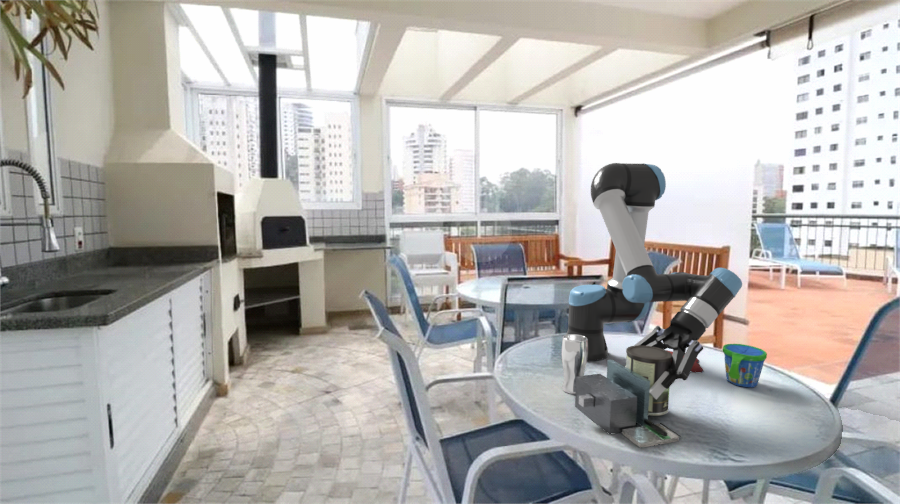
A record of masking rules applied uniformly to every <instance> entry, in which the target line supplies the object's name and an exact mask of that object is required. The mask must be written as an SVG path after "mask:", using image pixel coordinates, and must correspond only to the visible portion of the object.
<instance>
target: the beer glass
mask: <svg viewBox="0 0 900 504" xmlns="http://www.w3.org/2000/svg"><path fill="white" fill-rule="evenodd" d="M566 334H567V333H566ZM566 334H565V335H562V343H561V364H562V369H563V370H562V371H563V381H562V384H561V389H562V391H563V392H564V393H566V394H570V395H576V377H577V376H585V372H586V366H587V363H588V360H587V357H588V341H587V340H588V339H587V337H585V336H582V335H577V334H567V335H566Z"/></svg>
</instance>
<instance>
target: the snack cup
mask: <svg viewBox="0 0 900 504" xmlns="http://www.w3.org/2000/svg"><path fill="white" fill-rule="evenodd" d="M722 353H723V354H724V368H725V377H726V381H727V382H729V383H731V384H732V385H735V386H738V387H743V388H755V387H757V385H758V384H759V381H760V377H761V373H762V370H763V367H764V363H765V360H767V357H768V353H767V352H766V351H765V350H764V349H762V348H759V347H756V346H752V345H750V344H749V345H748V344H742V343H726V344H724V345H723V346H722Z"/></svg>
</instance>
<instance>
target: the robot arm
mask: <svg viewBox="0 0 900 504" xmlns="http://www.w3.org/2000/svg"><path fill="white" fill-rule="evenodd" d="M666 185H667V183H666V177H665V174H664V172H663V171H662V170H661V168H660V167H659V166H658V165H654V164H650V163H627V162H626V163H620V162H613V163H608V164H606V165H604V166H602V167H601V168H600V169H599V170H598V171H597V172H596V173H595V174H594V177H593V178H592V180H591V185H590V197H591V201H592V203H593V206H594V208H595V209H597V210H599V211H600V215H601V216H602V219H603V222H604V224H605V226H606V229H607V233H609V237H610V239H611V241H612V243H613V245H614V246H613V247H614V248H615V256H614V263H613V264H614V265H613V273H612V278H611V279H609V280H608V281H607V285H606V288H605V286H603V285H600V284H582V285H577V286H575V287H573V288H572V289H570V291H569V296H568V320H567V321H568V322H567V324H568V325H567V332H566V334H565V335H567V334H577V335H582V336H585V337H587V339H588V340H587V341H588V357H587V362H589V361H592V362H593V361H595V362H596V361H602V360H604V359H606V358H608V355H609V348H608V345H607V341H606V338H605V335H604V327H605V326H604V324H614V323H631V322H638V321H640V320H642V319H643V318H645V316H646V315H647V313H648V312H649V309H650V303H657V302H658V303H660V302H664V303H665V302H666V303H667V302H685V301H686V302H685V303H684V304H683V305H682V306H681V308H680V309H679V311H677V312H676V314H675V315H674V316H673V317H672V318H671V319H670V324H669V326H668V327H667V328H665V329H664V328H661V326H660V325H656V326H655V327H654V328H653V329H652V331H651V332H649V333H648V334H647V335H646V336H645V337H643V338H642V339H641V340H639V341H637V343H635V344H634V345H633V346H637V345H643V346H652V347H657V348H661V349H664V350H667V349H668V350H669V349H670V350H672V352H673V354H672V359H671V364H670V369H669V370H668V369H667V370H668V372H669V373H668V372H667V371H665V372H664V373H663V374H662V375H661V377H660V378H659V379H658V380H657V381H656V382H655V384H654V385H653V386H652V387H651V388H650V391H649V393H650V394H651V395H652V397H653V398H654V399H656V400H657V398H658V397H659V396H660V395H661V394H662V392H663V391H664V390H665V389H668V388H669V389H670V387H671V386H672V385H673V384H674V383H675V381H676V380H683V381H686V380H688V377H689V375H690V373H691V372H690V371H691V369H692V367H693V365H694V362H695V360H696V358H697V359H698V355H700V353H701V352H702V351H703V350H704V346H702V344H701V343H700V342H699V340H700V338H701V337H702V336H703V335H705V333H706V331H707V329H708V328H710V326H711V325H712V323H714V322H715V320H716V319H717V318H718V317H719V316H720V314H721V313H723V311H724V310H725V309H726V307H728V305H729V304H730V302H731V301H732V300H733V299H734V298H736V296H737V295H738V292H740V290H741V288H742V286H743V281H742V279H741V278H740V277H739V275H738V274H737V273H735V272H734V271H731V270H730V269H728V268H725V267H716V268H714V269H713V270H712V271H711V272H710V273H709V274H708V275H705V274H703V275H701V274H694V273H688V272H684V271H683V272H681V271H678V272H677V271H673V272H671V273H666V274H665V273H664V274H663V273H659V274H658V273H657V271H656V269H655V267H654V264H653V262H652V259H651V258H650V256H649V254H648V251H647V249H646V246H645V242H646V236H647V235H646V234H647V227H648V220H649V213H650V211H651V210H652V209H654V208H655V205H656V204H655V203H656V201H657V200H660V199H661V198H662V197H663V195H664V194H665V191H666V188H667V187H666ZM683 356H684V357H683ZM624 367H626V365H624Z"/></svg>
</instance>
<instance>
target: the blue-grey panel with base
mask: <svg viewBox="0 0 900 504" xmlns="http://www.w3.org/2000/svg"><path fill="white" fill-rule="evenodd" d="M606 364H607V365H606V366H607V367H606V378H608V379H609V380H611V381H613V382H614V383H616V384H617V385H619V386H621V387H622V388H624V389H625V390H627V391H629V392H630V393H632V394H633V395H635V396H637V411H636V423H637V424H638V425H640V427H641V426H644V425H648V426H650V427H651V428H652V429H654V430H655V431H657V432H658V433H660V434H661V435H663V436H667V432H666V431H664V430H663V429H661V428H660V427H658V426H657V425H655V424H656V423H654V422H653V421H651V420H649V415H648V407H649V391H650V380H648V379H646V378H644V377H643V376H641V375H639V374H637V373H635V372H633V371H632V370H630V369H628V368H626V367H625V365H622V364H621V363H619V362H617V361H615V360H613V359H607V363H606ZM579 404H580V405H581V406H582V407H588V406H595V396H593V395H592V394H586V395H579Z"/></svg>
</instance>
